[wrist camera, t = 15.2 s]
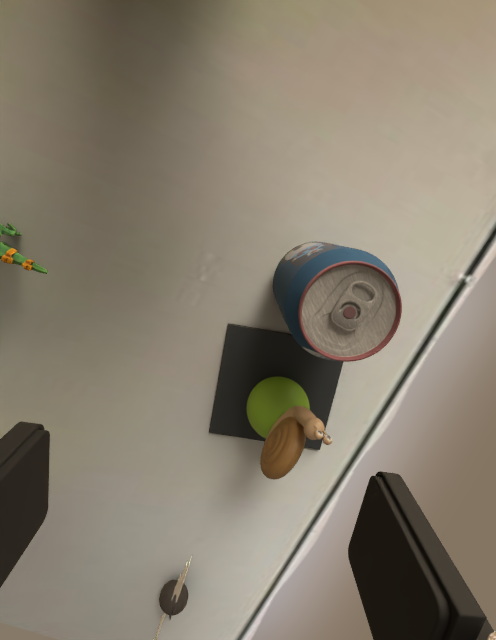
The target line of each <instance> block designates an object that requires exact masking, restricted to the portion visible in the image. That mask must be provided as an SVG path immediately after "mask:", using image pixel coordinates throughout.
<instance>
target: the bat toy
mask: <svg viewBox="0 0 496 640" xmlns="http://www.w3.org/2000/svg"><path fill="white" fill-rule="evenodd" d="M191 557H192V556H191ZM190 561H191V559H190ZM190 561H189V564H190ZM189 564H188V566H187V563H186V566H185V569H184V572H183V574H182V577H181V573H180V576H179V579H178V580H171V581H169V582H168V583H166V584H165V585H164V587H163V588H162V590H161V593H160V597H159V602H160V607H161V609H162V610H163V612H164V615H163V617H162V616H161V620H160V624H159V628H158V631H157V634H156V637H155V639H153V640H157V638H158V635H159V632H160V628H161V625H162V622H163V620H164V617H165V615H166V614H168V615H169V617H170V619H171V615H176V614H179V613H180V612H181V611H182V610H183V609H184V608H185V606H186V604H187V600H188V590H187V587H186V586H185V584H184V580H185V577H186V574H187V571H188V568H189Z"/></svg>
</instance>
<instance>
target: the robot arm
mask: <svg viewBox="0 0 496 640" xmlns="http://www.w3.org/2000/svg"><path fill="white" fill-rule="evenodd" d="M49 444H50V433H49V431H46V430H44V426H43V425H42V424H35V423H28V422H19V423H18V424H16V425H15V426H14V427H13V428H12V429H11V430H10V431H9V432H8V433H7V434H6V435H4V436H3V437H2V438H1V439H0V587H1V586H2V584H3V583H4V581H5V580H6V578H7V577H8V575H9V574H10V572H11V571H12V569H13V568H14V566H15V565H16V563H17V561H18V560H19V558H20V557H21V555H22V554H23V552H24V551H25V549H26V548H27V546H28V545H29V543H30V542H31V540H32V539H33V537H34V535H35V534H36V532H37V531H38V529H39V528H40V526H41V525H42V523H43V521H44V519H45V517H46V514H47V510H48V486H49ZM348 555H349V561H350V564H351V568H352V571H353V574H354V578H355V581H356V584H357V587H358V590H359V594H360V597H361V600H362V604H363V607H364V610H365V613H366V617H367V620H368V623H369V626H370V630H371V633H372V636H373V639H374V640H496V631H495V632H494V630H493V629H492V627H491V625H490V624H489V622H488V620H487V619H486V616H485V614H484V613H483V611H482V610H481V608H480V606H479V604H478V603H477V601H476V600H475V598H474V596H473V595H472V593H471V591H470V590H469V588H468V586H467V585H466V583H465V581H464V580H463V578H462V576H461V575H460V573H459V571H458V570H457V568H456V567H455V565H454V563H453V562H452V560H451V558H450V557H449V555H448V553H447V552H446V550H445V548H444V547H443V545H442V543H441V542H440V540H439V538H438V537H437V535H436V534H435V532H434V530H433V529H432V527H431V525H430V524H429V522H428V520H427V519H426V517H425V515H424V514H423V512H422V510H421V509H420V507H419V505H418V504H417V502H416V501H415V499H414V497H413V496H412V494H411V492H410V491H409V489H408V487H407V486H406V484H405V482H404V481H403V479H402V477H401V476H400V475H398V474H394V473H387V472H378V473H377V474H376V476H371V478H370V480H369V483H368V486H367V489H366V493H365V496H364V499H363V502H362V505H361V509H360V512H359V515H358V518H357V522H356V524H355V528H354V531H353V534H352V537H351V541H350V544H349V548H348Z"/></svg>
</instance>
